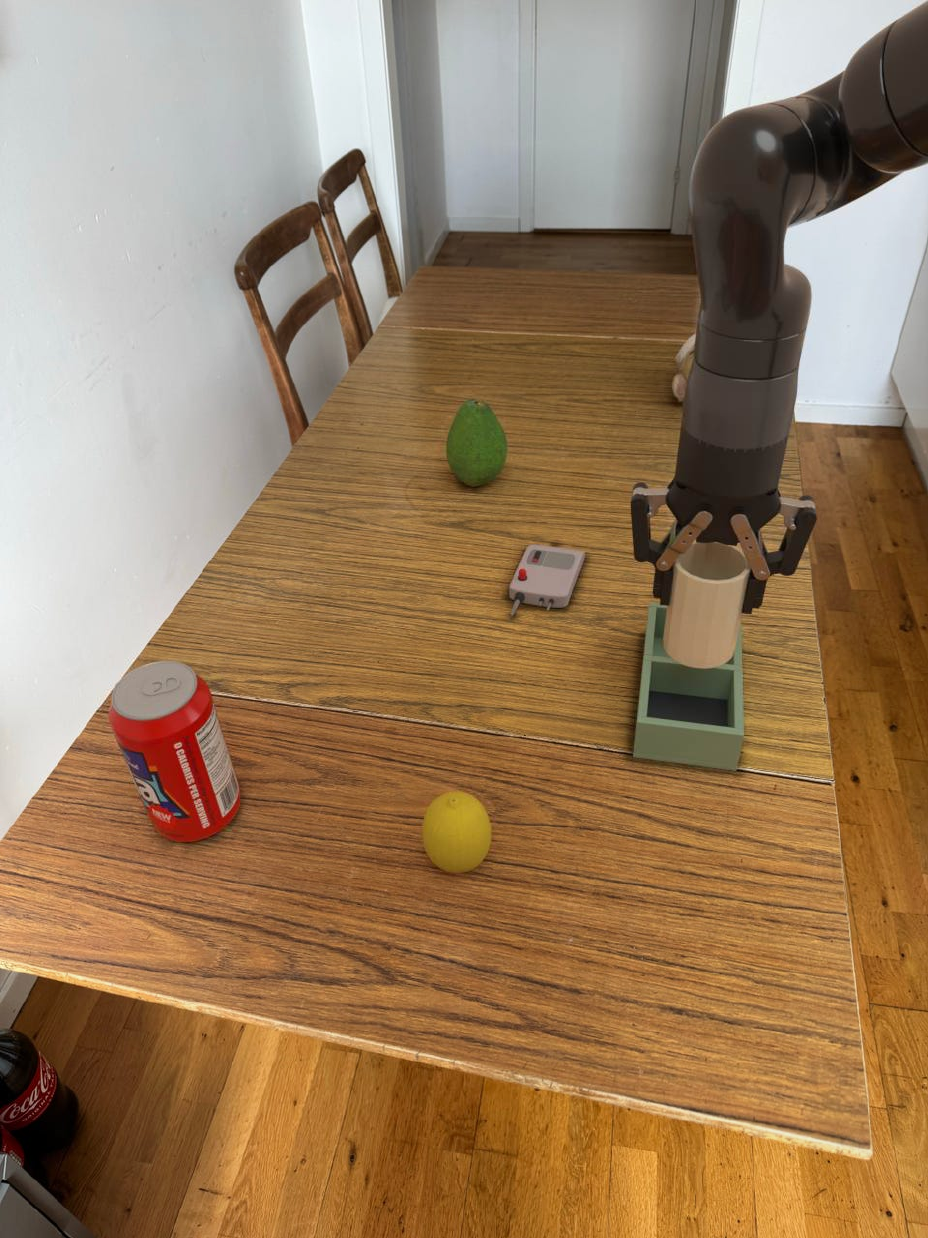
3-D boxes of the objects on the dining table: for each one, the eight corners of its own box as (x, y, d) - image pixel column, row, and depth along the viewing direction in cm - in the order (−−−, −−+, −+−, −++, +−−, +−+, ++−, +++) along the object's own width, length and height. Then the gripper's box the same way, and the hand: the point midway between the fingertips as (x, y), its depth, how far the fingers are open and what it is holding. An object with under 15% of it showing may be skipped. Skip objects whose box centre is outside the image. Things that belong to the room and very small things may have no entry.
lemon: (451, 825, 76) (446, 762, 71) (505, 855, 73) (504, 792, 68) (411, 871, 73) (403, 808, 68) (467, 904, 70) (462, 841, 65)
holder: (736, 771, 79) (744, 735, 76) (632, 757, 81) (636, 721, 78) (734, 645, 92) (741, 610, 89) (645, 635, 94) (649, 601, 91)
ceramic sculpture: (736, 317, 138) (753, 362, 127) (728, 369, 144) (744, 416, 133) (666, 319, 139) (677, 364, 128) (661, 371, 145) (671, 418, 134)
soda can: (250, 831, 76) (212, 706, 67) (157, 860, 74) (104, 736, 65) (235, 767, 82) (198, 644, 73) (148, 792, 80) (98, 669, 71)
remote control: (587, 549, 107) (589, 528, 105) (558, 630, 95) (559, 608, 94) (534, 541, 109) (534, 521, 107) (498, 620, 97) (498, 598, 95)
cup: (745, 639, 77) (762, 554, 72) (715, 678, 74) (731, 592, 68) (682, 615, 80) (694, 531, 75) (650, 651, 77) (660, 566, 71)
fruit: (492, 462, 124) (490, 381, 117) (517, 488, 119) (517, 405, 111) (439, 475, 122) (433, 394, 114) (462, 503, 116) (458, 418, 109)
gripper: (629, 437, 62) (614, 623, 73) (847, 451, 59) (798, 642, 70) (637, 390, 68) (621, 569, 78) (837, 402, 65) (792, 585, 76)
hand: (705, 603), depth 74 cm, fingers closed on cup, 6 cm apart
